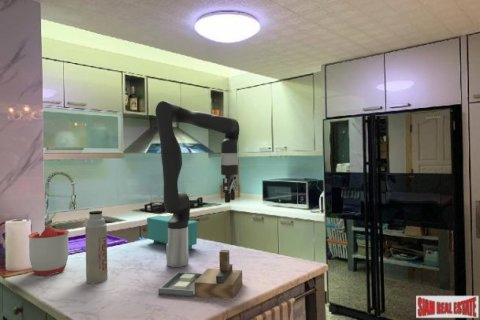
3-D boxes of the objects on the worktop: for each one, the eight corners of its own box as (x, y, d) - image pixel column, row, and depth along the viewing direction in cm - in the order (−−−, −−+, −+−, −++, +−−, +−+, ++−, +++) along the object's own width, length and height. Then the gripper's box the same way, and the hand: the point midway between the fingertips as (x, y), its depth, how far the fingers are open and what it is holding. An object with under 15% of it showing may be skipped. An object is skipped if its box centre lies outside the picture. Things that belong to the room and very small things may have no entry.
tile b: (190, 278, 133) (190, 283, 133) (195, 274, 138) (195, 279, 138) (179, 277, 135) (179, 282, 135) (184, 273, 139) (185, 278, 139)
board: (194, 296, 123) (194, 282, 123) (208, 280, 138) (207, 268, 138) (232, 299, 120) (232, 284, 120) (242, 283, 135) (242, 270, 135)
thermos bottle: (111, 278, 142) (110, 210, 142) (94, 284, 136) (93, 213, 135) (99, 275, 147) (98, 209, 146) (82, 281, 140) (80, 211, 140)
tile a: (185, 286, 125) (185, 292, 125) (190, 282, 129) (190, 287, 129) (174, 285, 126) (174, 291, 126) (178, 281, 130) (178, 286, 130)
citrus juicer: (61, 263, 165) (60, 221, 164) (74, 271, 152) (74, 225, 152) (23, 271, 154) (22, 226, 153) (34, 280, 141) (33, 231, 141)
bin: (158, 295, 124) (158, 288, 124) (177, 277, 142) (177, 271, 142) (192, 297, 122) (192, 290, 122) (208, 279, 139) (208, 273, 139)
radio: (199, 248, 187) (199, 221, 187) (185, 253, 179) (184, 224, 179) (161, 239, 209) (161, 214, 209) (146, 243, 201) (146, 217, 201)
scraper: (215, 283, 122) (215, 256, 122) (225, 270, 136) (225, 246, 135) (223, 283, 121) (223, 256, 121) (233, 270, 135) (232, 246, 135)
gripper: (225, 163, 158) (225, 199, 158) (216, 164, 144) (217, 203, 144) (241, 163, 156) (241, 199, 156) (234, 164, 142) (234, 203, 143)
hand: (230, 201), depth 150 cm, fingers open, 8 cm apart
